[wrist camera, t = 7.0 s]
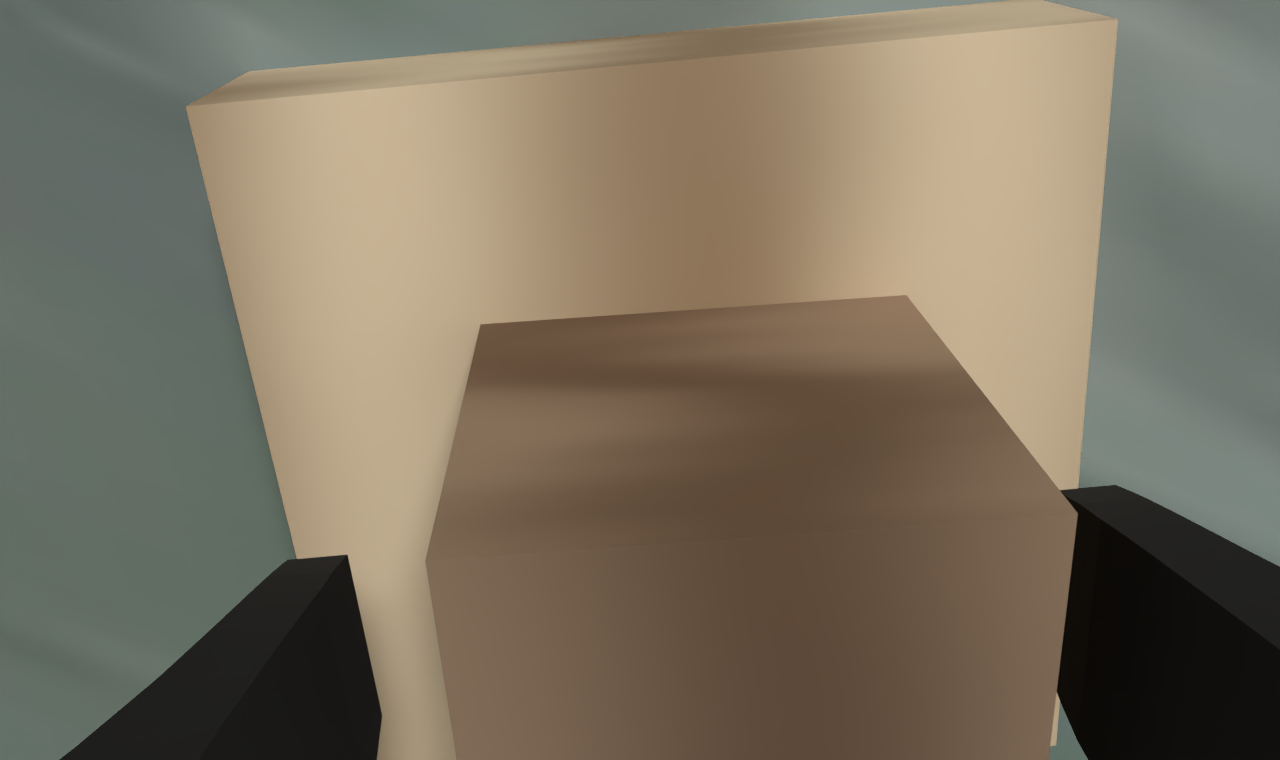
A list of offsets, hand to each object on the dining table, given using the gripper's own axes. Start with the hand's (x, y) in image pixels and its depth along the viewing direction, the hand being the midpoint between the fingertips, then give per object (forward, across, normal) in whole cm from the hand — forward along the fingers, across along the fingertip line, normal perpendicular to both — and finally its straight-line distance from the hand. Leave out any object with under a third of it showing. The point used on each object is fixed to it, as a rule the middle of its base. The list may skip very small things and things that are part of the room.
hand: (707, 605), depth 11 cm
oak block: (+6, 0, 0) cm, 6 cm away
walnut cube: (+3, 0, 0) cm, 3 cm away
